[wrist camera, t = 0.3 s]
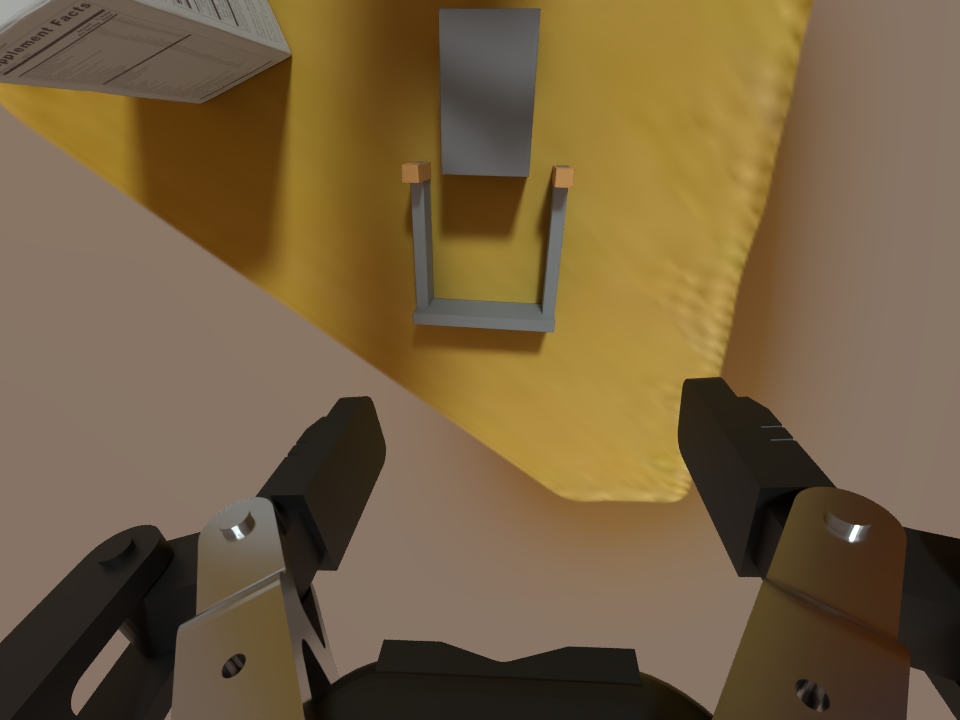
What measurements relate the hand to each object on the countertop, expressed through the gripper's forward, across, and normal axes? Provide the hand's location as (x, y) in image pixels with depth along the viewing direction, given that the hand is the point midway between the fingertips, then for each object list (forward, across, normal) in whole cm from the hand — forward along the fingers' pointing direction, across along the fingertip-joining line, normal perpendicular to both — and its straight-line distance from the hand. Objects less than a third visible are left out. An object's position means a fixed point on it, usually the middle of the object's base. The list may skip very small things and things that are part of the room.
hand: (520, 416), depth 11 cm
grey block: (+28, +2, -9) cm, 29 cm away
